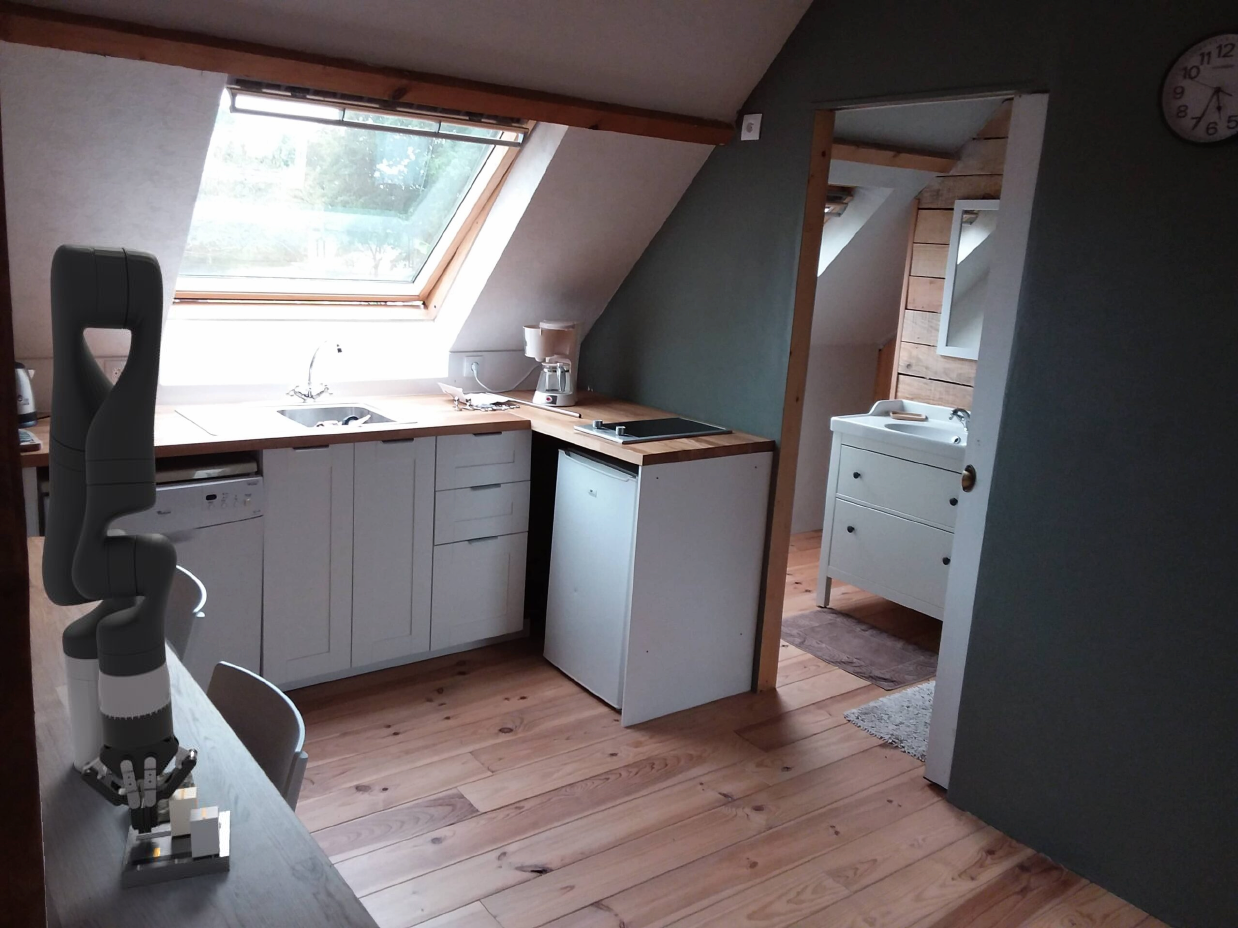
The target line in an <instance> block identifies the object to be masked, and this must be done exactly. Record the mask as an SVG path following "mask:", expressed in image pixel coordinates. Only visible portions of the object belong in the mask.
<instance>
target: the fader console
mask: <svg viewBox="0 0 1238 928" xmlns="http://www.w3.org/2000/svg"><path fill="white" fill-rule="evenodd" d="M231 825H232V822H231V810H224V811H219V829H220V853H217V854H211V855H205V856H199V857H193V858H192V846H191V833H190V834H184V835H178V836H171V824H170V820H164V821H158V824H157V827H154V828H153V829H152V833H145V834H138V830H133V828H132V824H131V825H129V829H128V834H127V840H126V845H125V850H124V856H123V861H122V862H123V863H122V867H121V872H120V876H121V887H122V888H123V889H126V888H131V887H139V886H143V885H149V884H150V885H151V884H156V883H163V882H166V881H173V880H174V881H175V880H179V879H185V878H191V877H197V876H202V875H208V874H214V873H221V872H225V871H227V872H228V871H230V868H231V833H232V832H231V828H232V827H231Z"/></svg>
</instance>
